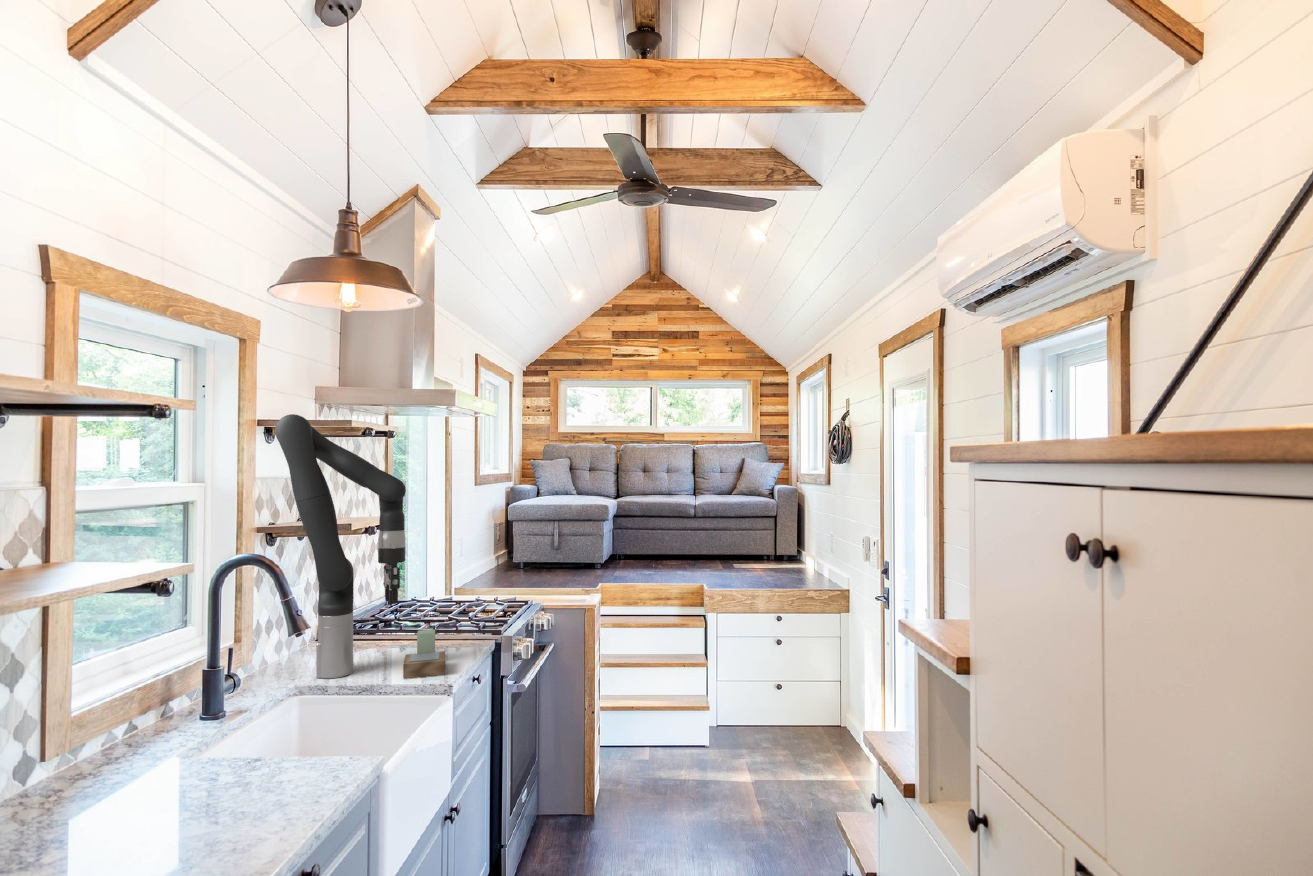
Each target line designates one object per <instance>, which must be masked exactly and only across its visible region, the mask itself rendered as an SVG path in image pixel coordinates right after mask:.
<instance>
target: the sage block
mask: <svg viewBox="0 0 1313 876" xmlns="http://www.w3.org/2000/svg"><path fill="white" fill-rule="evenodd" d="M416 652H417V653H416V654H418V653H430V652H436V629H433V628H432V629H422V630H417V633H416Z"/></svg>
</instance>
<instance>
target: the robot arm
mask: <svg viewBox="0 0 1313 876" xmlns="http://www.w3.org/2000/svg"><path fill="white" fill-rule="evenodd" d="M274 434H275V437H276V439H277V441H278V444H279V446H280V447H281V450H282V453H283V456H284V458H285V460H286V462H287V466H288V469H289V474H290V482H291V489H292V492H293V497H294V501H295V505H296V509H297V511H298V515H299V518H300V521H301V524H302V527H303V529H304V532H305V534H306V537H307V539H308V541H309V544H310V546H311V549H312V554H313V558H314V559H313V560H314V565H315V569H316V578H317V581H318V600H317V601H318V604H317V628H318V629H317V643H316V647H315V649H316V652H315V653H316V665H315V666H316V670H315V671H316V678H317V679H321V678H322V679H335V678H342V677H347V676H348V675H349V676H350V675H351V674H353V673H354V597H355V595H354V585H355V584H354V578H355V577H354V573H355V572H354V566H353V563H352V562H351V561H350V560H349V559H348V558H347V557H346V554H345V552H344V550H343V549H344V548H343V547H342V543H341V541H340V536H339V530H338V529H339V528H338V527H339V526H338V520H337V513H336V509H335V504H334V501H333V497H332V494H331V490H330V487H329V485H328V482H327V480H326V478H325V476H324V475H325V474H324V473H323V471H322V468H321V467H320V465H319V463H318V461H321V462H322V463H324V464H326V465H327V466H329V467H330V468H331V469H333V470H334V471H335V472H338V473H339V474H340V475H342V476H343V477H344V478H347V479H348V480H350V481H351V482H353V483H354V484H357V485H358V486H360V487H363V488H366V489H368V490H370V491H371V492H373V493H374V494H376V495H377V496H378V504H379V521H378V522H379V523H378V527H379V532H378V533H379V534H378V539H377V543H378V544H377V552H378V553H377V562H378V563H379V564H385V565H383V584H382V585H383V587H384V593H385V594H384V596H385V597H384V601H386V602H389V604H390V605H397V604H398V603H399V590H400V588H401V568H400V567H398V564H401V563H404V562H406V533H405V520H406V519H405V513H404V497H405V495H406V491H407V489H406V486H405V483H404V482H403V481H402V480H401V479H399V478H397V477H395V476H393V475H392V474H390V473H388V472H386V471H384V470H382V469H380V468H378V467H377V466H375V465H374V464H372V463H371V462H369V461H367V460H366V459H364V458H363V457H361V456H359V455H357V454H355V453H354V452H352V451H350V450H348V449H346V448H344V447H342V446H340V445H339V444H337V443H335V442H334V441H331V440H330V439H329V438H327V437H325V436H324V435H323V434H321V433H320V432H319V431H318V430H316V429H315V428H314V427H313V426H312V424H310V422H309V421H308V419H306V418H305V417H304V416H301V415H298V414H287V415H284V416H283V417H280V418H279V420H278V421H277V423H276V424H275V429H274Z"/></svg>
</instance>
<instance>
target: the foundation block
mask: <svg viewBox="0 0 1313 876" xmlns="http://www.w3.org/2000/svg"><path fill="white" fill-rule="evenodd" d="M404 656H405V657H404V660H403V663H402V664H403V665H402V669H403V670H402V673H403V675H402V676H403V677H402V678H410V679H417V677H420V678H427V677H426V676H431V677H436V676H435V675H441V676H445V675H446V650H444V651H435V652H430V653H418V654H417V653H409V654H405V655H404Z"/></svg>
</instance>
